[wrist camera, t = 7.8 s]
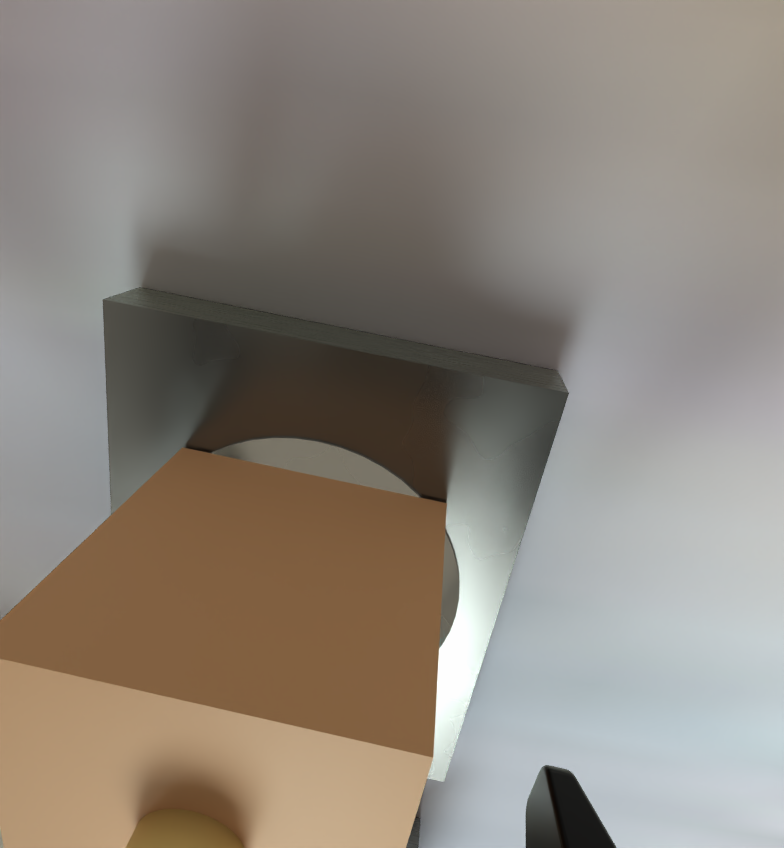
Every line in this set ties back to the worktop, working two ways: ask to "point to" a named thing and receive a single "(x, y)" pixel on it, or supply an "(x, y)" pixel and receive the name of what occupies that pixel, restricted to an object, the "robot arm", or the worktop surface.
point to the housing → (227, 668)
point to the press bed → (344, 436)
